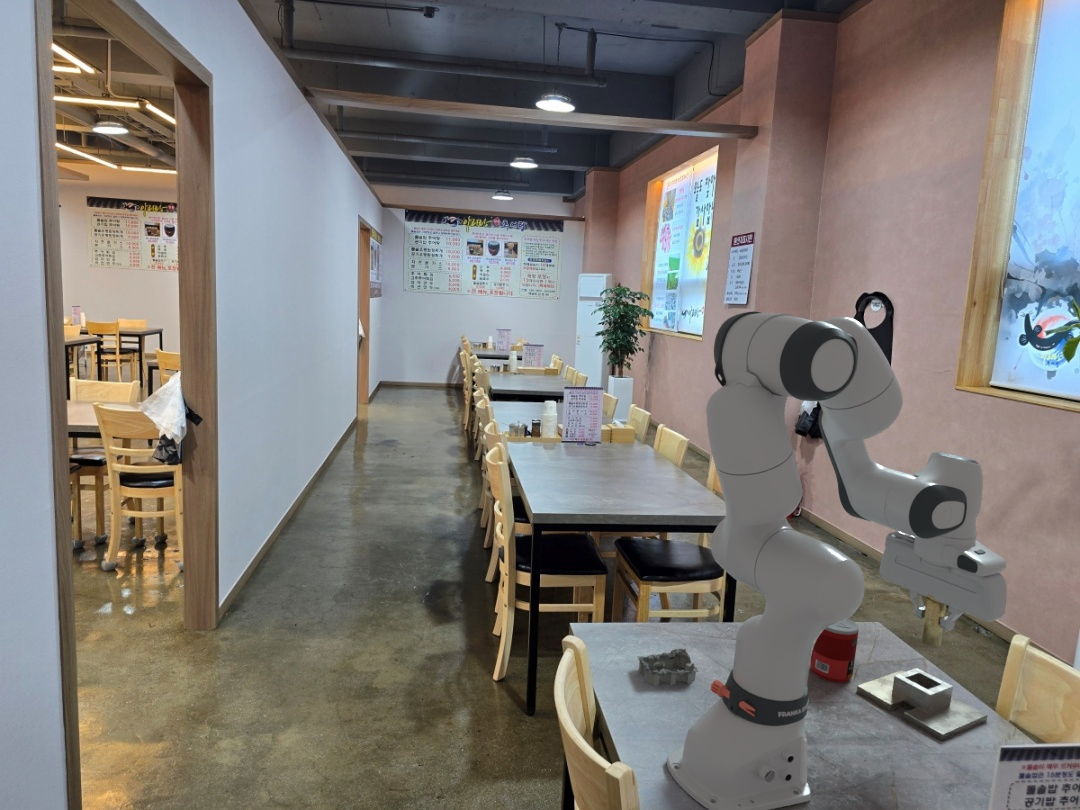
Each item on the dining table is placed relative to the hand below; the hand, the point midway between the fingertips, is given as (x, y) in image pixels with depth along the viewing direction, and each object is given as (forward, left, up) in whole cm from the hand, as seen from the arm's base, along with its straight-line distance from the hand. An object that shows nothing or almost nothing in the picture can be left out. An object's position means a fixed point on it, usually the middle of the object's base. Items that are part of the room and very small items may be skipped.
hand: (933, 622), depth 119 cm
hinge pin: (0, 0, -4) cm, 4 cm away
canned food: (+1, +19, -20) cm, 28 cm away
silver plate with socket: (+7, +4, -20) cm, 21 cm away
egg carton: (-31, +32, -20) cm, 49 cm away
